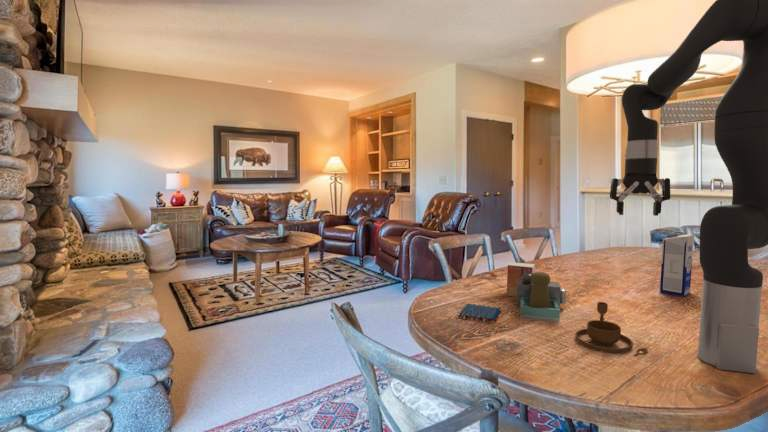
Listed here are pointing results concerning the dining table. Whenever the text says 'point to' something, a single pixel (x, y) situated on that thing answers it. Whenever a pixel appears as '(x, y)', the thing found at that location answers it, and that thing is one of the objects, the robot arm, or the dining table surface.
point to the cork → (540, 290)
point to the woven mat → (480, 313)
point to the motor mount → (539, 313)
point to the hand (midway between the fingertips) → (638, 215)
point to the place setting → (605, 334)
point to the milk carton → (676, 264)
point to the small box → (517, 275)
